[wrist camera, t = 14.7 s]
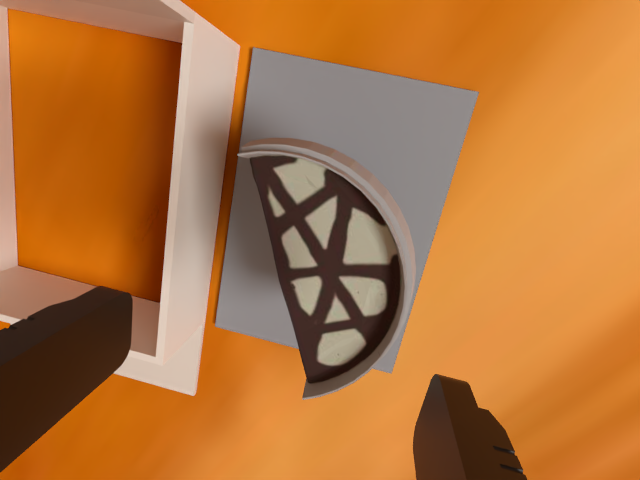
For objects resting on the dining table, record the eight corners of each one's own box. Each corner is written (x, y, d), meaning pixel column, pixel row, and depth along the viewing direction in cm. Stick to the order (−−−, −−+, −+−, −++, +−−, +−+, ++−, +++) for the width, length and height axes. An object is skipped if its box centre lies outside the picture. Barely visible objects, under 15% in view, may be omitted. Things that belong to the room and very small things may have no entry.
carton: (240, 46, 23) (8, -129, 8) (196, 392, 30) (36, 618, 16) (0, -2, 24) (-560, -224, 10) (16, 341, 31) (-283, 506, 17)
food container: (415, 300, 25) (442, 397, 15) (329, 312, 26) (305, 409, 16) (384, 119, 22) (393, 100, 12) (290, 142, 23) (233, 140, 14)
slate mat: (477, 92, 21) (478, 92, 21) (391, 370, 27) (391, 373, 27) (255, 49, 22) (253, 47, 22) (217, 324, 28) (215, 326, 28)
